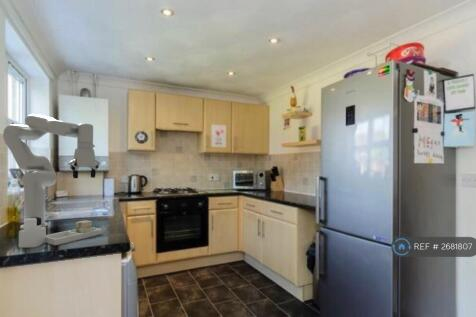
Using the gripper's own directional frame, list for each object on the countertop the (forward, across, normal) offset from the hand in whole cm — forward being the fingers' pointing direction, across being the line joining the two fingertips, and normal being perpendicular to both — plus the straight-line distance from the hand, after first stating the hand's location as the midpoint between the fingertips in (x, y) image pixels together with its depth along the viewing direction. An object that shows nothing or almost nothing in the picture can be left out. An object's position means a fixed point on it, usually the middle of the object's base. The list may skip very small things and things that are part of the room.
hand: (84, 177), depth 152 cm
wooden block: (+27, +7, +12) cm, 31 cm away
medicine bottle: (+28, +29, +10) cm, 41 cm away
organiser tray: (+28, +12, +12) cm, 33 cm away
